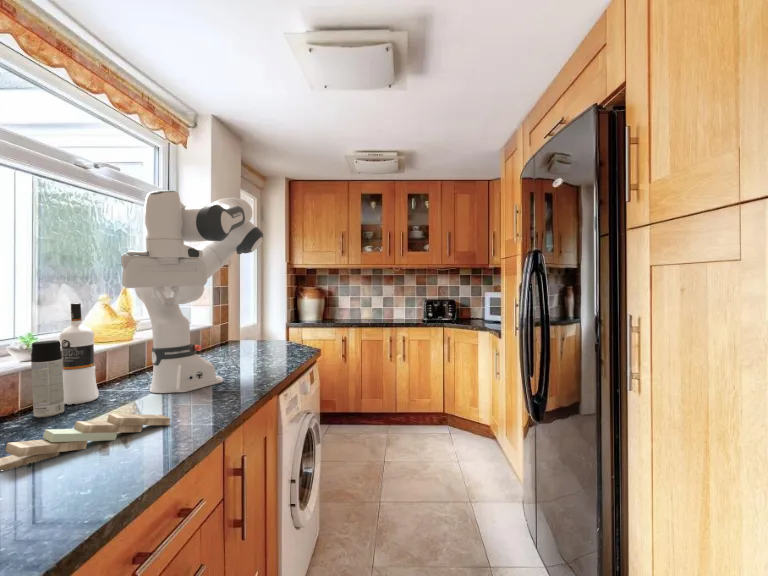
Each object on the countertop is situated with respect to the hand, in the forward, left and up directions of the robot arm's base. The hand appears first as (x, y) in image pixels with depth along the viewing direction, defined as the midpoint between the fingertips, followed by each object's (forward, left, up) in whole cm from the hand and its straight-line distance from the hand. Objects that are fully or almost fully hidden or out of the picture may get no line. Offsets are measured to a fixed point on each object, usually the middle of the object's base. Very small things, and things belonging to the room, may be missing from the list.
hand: (168, 304), depth 111 cm
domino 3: (+16, +6, -28) cm, 33 cm away
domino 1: (+26, +6, -29) cm, 39 cm away
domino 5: (+4, +6, -28) cm, 29 cm away
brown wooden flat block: (+22, +7, -28) cm, 36 cm away
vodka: (+12, -39, -29) cm, 50 cm away
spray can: (+21, -30, -29) cm, 47 cm away
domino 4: (+10, +5, -28) cm, 31 cm away
